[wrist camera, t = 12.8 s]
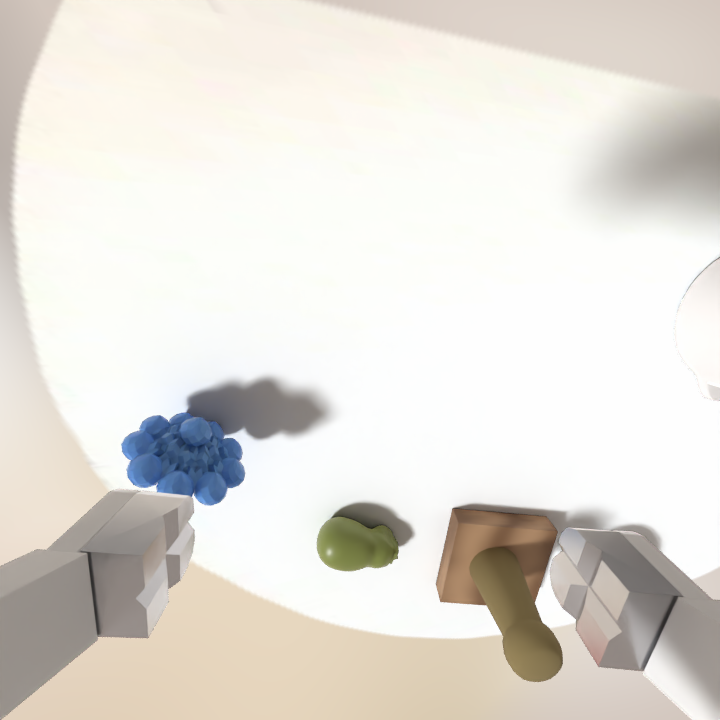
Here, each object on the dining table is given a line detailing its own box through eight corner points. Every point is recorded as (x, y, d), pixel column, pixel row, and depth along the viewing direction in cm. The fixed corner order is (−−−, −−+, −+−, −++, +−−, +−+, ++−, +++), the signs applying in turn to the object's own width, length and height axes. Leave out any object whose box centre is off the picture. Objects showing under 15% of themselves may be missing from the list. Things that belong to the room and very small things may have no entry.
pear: (327, 538, 36) (410, 550, 39) (323, 503, 41) (397, 516, 44) (311, 577, 38) (392, 586, 40) (309, 539, 43) (382, 549, 45)
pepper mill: (463, 555, 41) (501, 657, 30) (511, 540, 40) (567, 638, 30) (476, 592, 42) (517, 700, 32) (523, 577, 42) (580, 683, 31)
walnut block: (546, 516, 43) (557, 531, 40) (523, 590, 46) (532, 608, 43) (452, 508, 42) (458, 523, 40) (435, 584, 45) (440, 601, 43)
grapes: (274, 413, 38) (239, 477, 27) (254, 462, 40) (213, 542, 28) (173, 374, 37) (90, 423, 25) (157, 426, 38) (72, 494, 27)
